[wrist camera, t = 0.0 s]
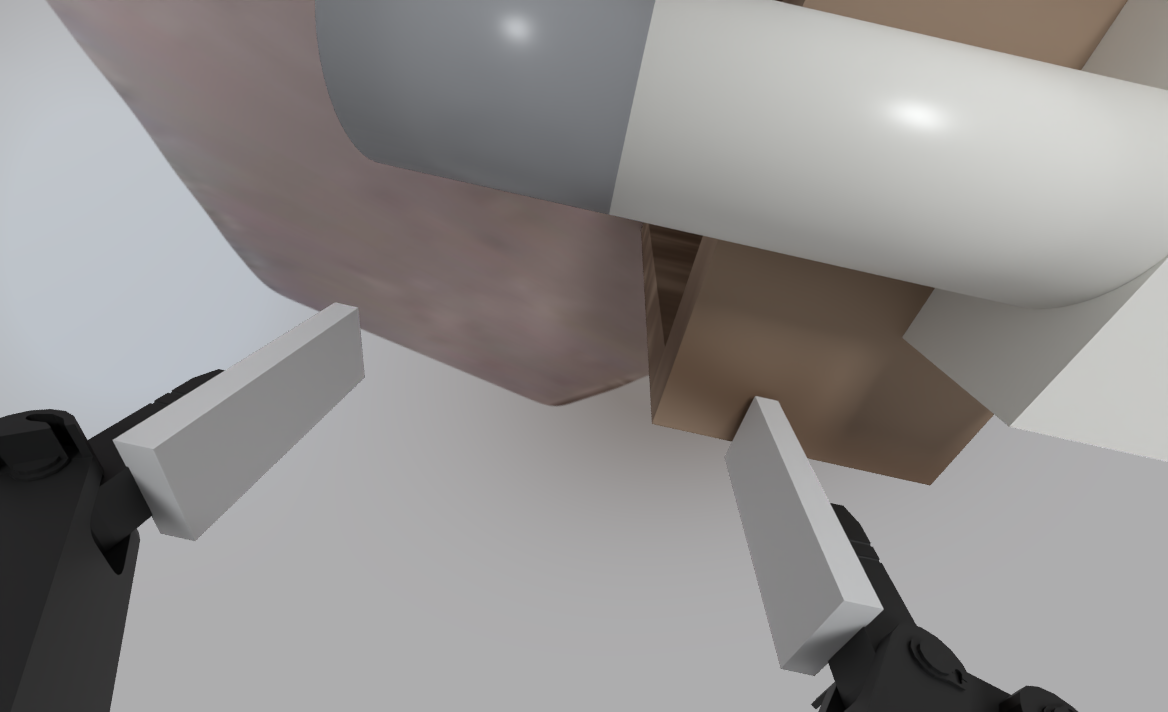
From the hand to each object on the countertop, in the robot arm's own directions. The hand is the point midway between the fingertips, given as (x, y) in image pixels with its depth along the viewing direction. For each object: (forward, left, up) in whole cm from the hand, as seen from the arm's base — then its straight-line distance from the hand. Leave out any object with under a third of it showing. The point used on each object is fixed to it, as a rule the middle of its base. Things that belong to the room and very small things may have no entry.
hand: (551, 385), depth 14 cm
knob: (-8, +5, 0) cm, 9 cm away
